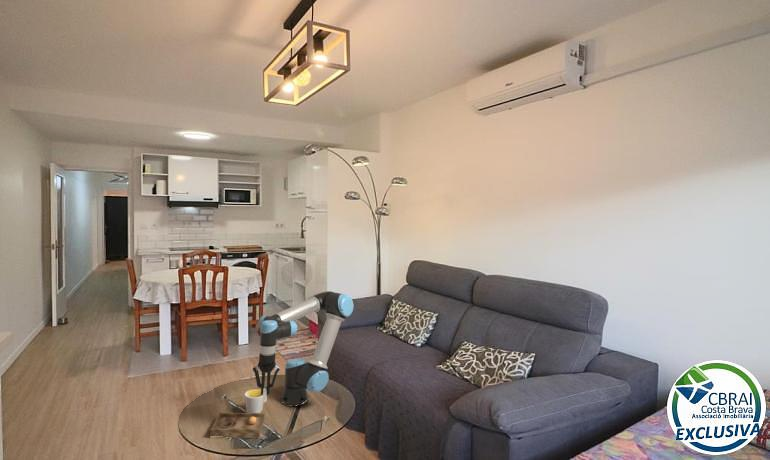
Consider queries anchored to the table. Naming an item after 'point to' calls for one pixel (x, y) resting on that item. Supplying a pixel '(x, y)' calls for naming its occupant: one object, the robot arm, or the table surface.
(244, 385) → the table surface
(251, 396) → the mug
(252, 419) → the ball
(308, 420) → the table surface
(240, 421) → the board
